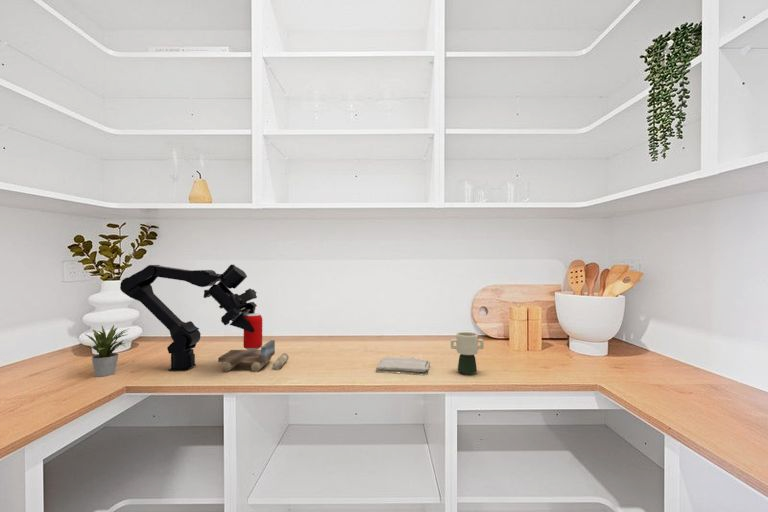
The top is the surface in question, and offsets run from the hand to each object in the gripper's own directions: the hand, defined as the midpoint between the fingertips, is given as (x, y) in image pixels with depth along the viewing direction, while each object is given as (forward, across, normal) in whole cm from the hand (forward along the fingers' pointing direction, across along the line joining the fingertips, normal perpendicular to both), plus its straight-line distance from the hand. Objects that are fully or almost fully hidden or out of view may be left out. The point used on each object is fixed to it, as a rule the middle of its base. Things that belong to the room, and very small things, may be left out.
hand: (256, 329), depth 129 cm
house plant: (-23, -7, +43) cm, 49 cm away
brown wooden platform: (+7, +2, +12) cm, 14 cm away
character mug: (+60, -6, -42) cm, 74 cm away
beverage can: (+4, 0, +6) cm, 7 cm away
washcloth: (+46, -1, -26) cm, 53 cm away
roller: (+15, +3, +4) cm, 16 cm away
